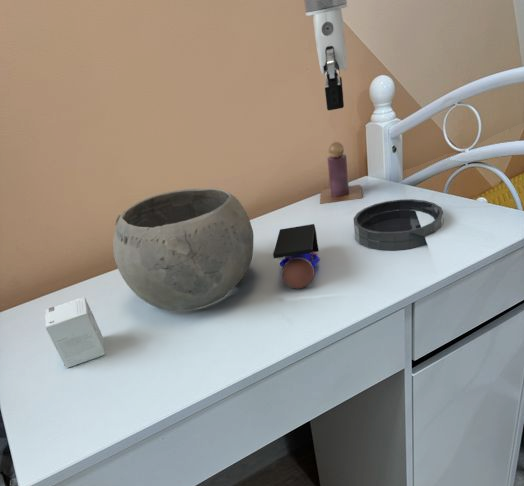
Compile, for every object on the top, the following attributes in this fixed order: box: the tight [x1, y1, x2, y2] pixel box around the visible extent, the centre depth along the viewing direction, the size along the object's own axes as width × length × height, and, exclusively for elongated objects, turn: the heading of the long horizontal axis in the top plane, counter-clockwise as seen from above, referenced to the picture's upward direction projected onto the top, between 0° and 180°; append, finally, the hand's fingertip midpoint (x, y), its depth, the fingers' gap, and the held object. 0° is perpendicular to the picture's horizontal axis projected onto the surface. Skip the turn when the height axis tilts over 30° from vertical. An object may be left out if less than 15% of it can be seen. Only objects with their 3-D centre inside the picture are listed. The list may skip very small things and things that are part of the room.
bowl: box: [112, 187, 255, 311], centre depth 82 cm, size 23×23×15 cm
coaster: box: [319, 184, 363, 205], centre depth 110 cm, size 9×9×1 cm
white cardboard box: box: [44, 296, 106, 369], centre depth 73 cm, size 6×6×7 cm
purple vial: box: [327, 141, 350, 197], centre depth 107 cm, size 4×4×11 cm
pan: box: [353, 198, 445, 251], centre depth 88 cm, size 15×15×4 cm
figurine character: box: [272, 223, 320, 290], centre depth 82 cm, size 7×8×15 cm
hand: (335, 104), depth 99 cm, fingers open, 9 cm apart
